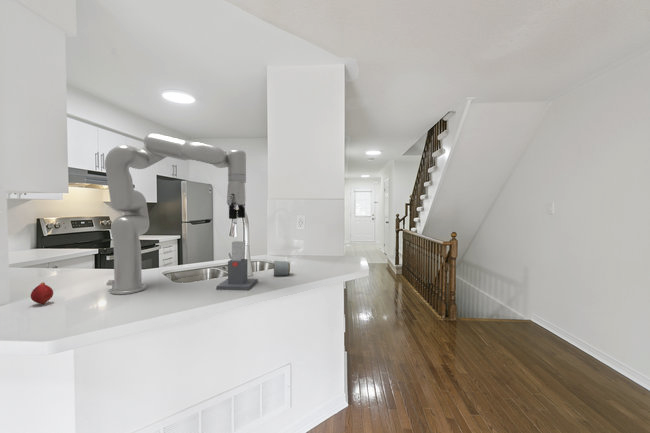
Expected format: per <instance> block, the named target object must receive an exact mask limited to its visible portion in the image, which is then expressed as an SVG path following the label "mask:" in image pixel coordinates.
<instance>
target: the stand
mask: <svg viewBox="0 0 650 433" xmlns="http://www.w3.org/2000/svg"><path fill="white" fill-rule="evenodd" d="M248 271H249V270H248V258H244V260H243V261H232V259H230V260H228V261H227V278H226V279H225V280H224V281H222V282H220V283H219V284H217V285H216V287H215V290H217V291H220V290H221V291H250V290H251V289H252V288H253V287H254V286H255V285H256V284H257V283H258V280H259V279H258V278H249V277H248V274H249V273H248Z"/></svg>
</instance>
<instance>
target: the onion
mask: <svg viewBox="0 0 650 433" xmlns="http://www.w3.org/2000/svg"><path fill="white" fill-rule="evenodd" d="M53 297H54V290H53V288H52V287H50V286H49V285H47V284H46V283H45V282H43V281H42V282H41V283H39V285H37V286H36V287H35V288H33V289H32V291H31V293H30V299H31V300H32V301H33V302H34V303H36V304H39V305H45V304H47V302H48V301H50V300H51V299H52V298H53Z"/></svg>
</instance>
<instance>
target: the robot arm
mask: <svg viewBox="0 0 650 433" xmlns="http://www.w3.org/2000/svg"><path fill="white" fill-rule="evenodd" d="M143 145H144V146H143V147H141V148H137V147H134V146H132V145H128V144H127V145H125V144H121V145H118V146H117V145H116V146H115V147H113V148H112V149H110V150H109V151H108V152H107V154H106V156H105V160H104V169H105V175H106V178H107V186H108V194H109V200H110V205H111V207H112V208H113V210H115V211H117V212H120V213H121V212H123V213H124V214H123V215H120V216H117V217H116V218H115V219H113V221H112V222H111V226H110V234H111V237H112V238H111V239H112V241H113V242H112V243H113V246H112V247H113V270H114V271H113V273H114V275H113V277H114V279H109V280H108V281H107V282H106V286H109V287H110V286H111V288H110V289H109V293H110V294H113V295H127V294H134V293H139V292H142V291H144V290H146V289H147V285H146V284H145V283H142V279H143V277H142V274H143V273H142V245H141V239H140V236H142V235H145V234H146V233H147V232H148V230H149V228H150V218H149V217H150V216H149V210H148V204H147V200H146V197H145V196H144V194H143V193H142V192H141V191H139V190H135V189H134V182H133V176H132V174H131V172H130V168H132V169H135V170H143V169H144V170H145V169H147V168H150V167H151V166H153V165H155V164H156V163H159V162H161V161H163V160H164V159H166V158H172V159H177V160H181V161H188V160H190V161H196V162H200V163H204V164H205V163H206V164H210V165H213V166H214V167H216V168H219V169H223V168H227V182H228V184H227V193H226V194H227V195H226V204H227V205H228V218H229V220H235V219H237V218H238V219H245V218H246V185H245V184H246V183H247V154H246V152H245V151H243V150H241V149H231V150H229V151H224V149H222V148H220V147H218V146H215V145H211V144H208V143H202V142H197V141H192V140H187V139H181V138H179V137H178V138H177V137H174V136H170V135H165V134H162V133H157V132H151V133H148V134H147V135H145V136H144V138H143Z"/></svg>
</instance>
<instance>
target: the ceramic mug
mask: <svg viewBox="0 0 650 433" xmlns="http://www.w3.org/2000/svg"><path fill="white" fill-rule="evenodd" d="M290 273H291V265H290V261H287V260H285V261H284V260H274V261H273V276H274V277H277V276H278V277H279V276H280V277H281V276H283V277H284V276H289V275H290Z"/></svg>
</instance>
